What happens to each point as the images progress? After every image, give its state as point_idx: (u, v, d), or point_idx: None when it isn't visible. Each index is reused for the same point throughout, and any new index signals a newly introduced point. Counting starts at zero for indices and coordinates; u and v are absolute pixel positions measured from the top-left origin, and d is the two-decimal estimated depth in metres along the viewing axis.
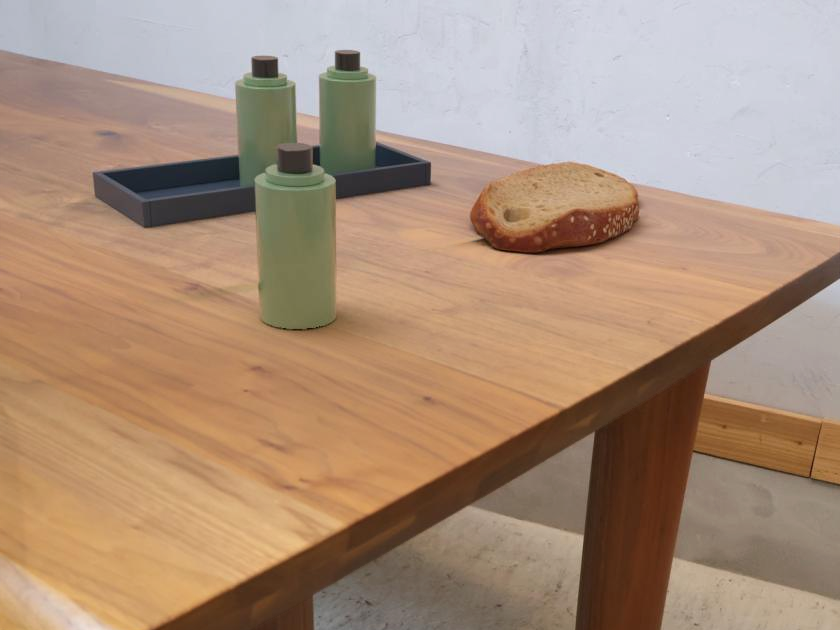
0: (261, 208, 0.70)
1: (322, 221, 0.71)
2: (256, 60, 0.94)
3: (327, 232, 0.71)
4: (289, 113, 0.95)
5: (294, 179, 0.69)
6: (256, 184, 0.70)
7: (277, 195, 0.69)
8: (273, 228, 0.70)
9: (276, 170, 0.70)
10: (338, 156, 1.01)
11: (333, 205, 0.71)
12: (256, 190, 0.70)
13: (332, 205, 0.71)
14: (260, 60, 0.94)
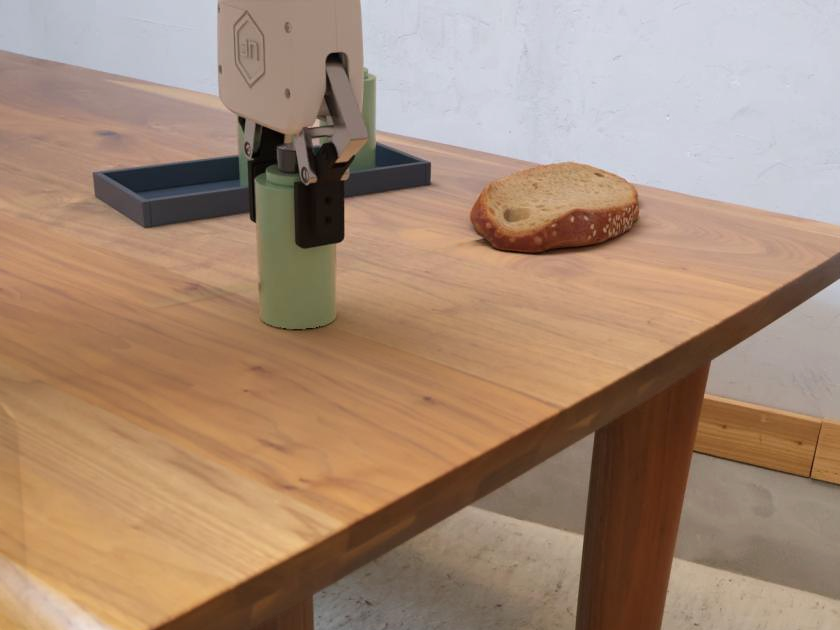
0: (261, 208, 0.70)
1: None
2: None
3: None
4: None
5: (294, 179, 0.69)
6: (256, 184, 0.70)
7: (277, 194, 0.69)
8: (273, 228, 0.70)
9: (276, 170, 0.70)
10: None
11: None
12: (256, 190, 0.70)
13: None
14: None
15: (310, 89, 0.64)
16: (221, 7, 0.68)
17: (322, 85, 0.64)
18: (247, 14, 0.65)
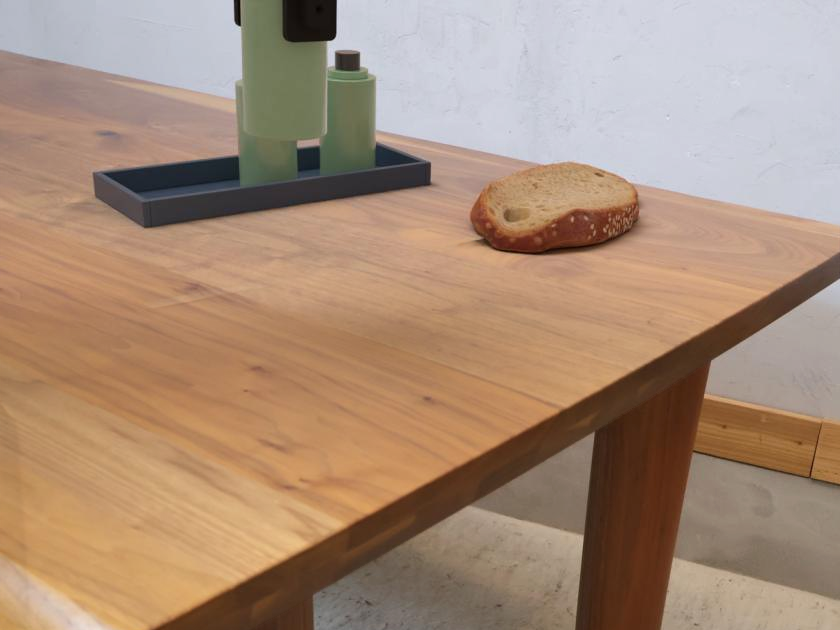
0: (246, 0, 0.65)
1: None
2: None
3: None
4: None
5: None
6: None
7: None
8: (259, 21, 0.65)
9: None
10: (338, 156, 1.01)
11: None
12: None
13: None
14: None
15: None
16: None
17: None
18: None
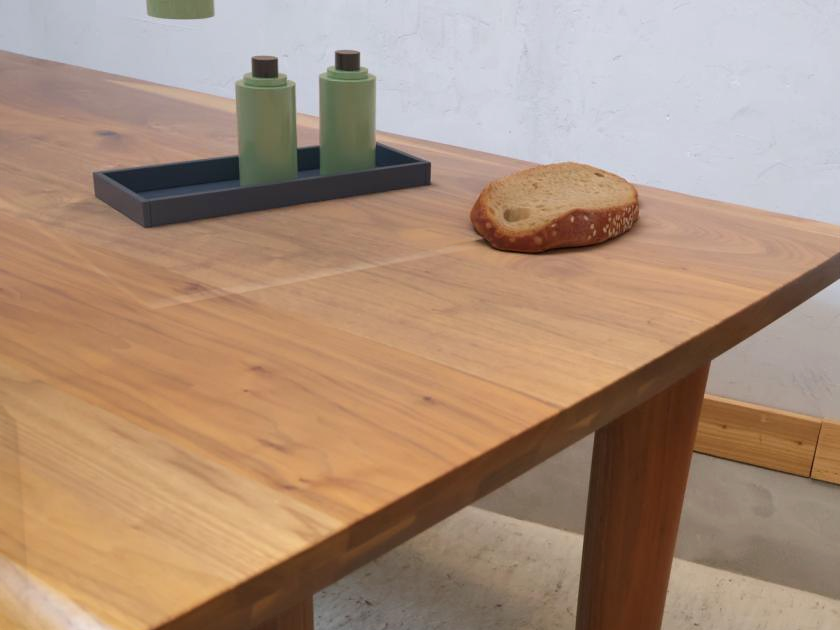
0: None
1: None
2: (256, 60, 0.94)
3: None
4: (289, 113, 0.95)
5: None
6: None
7: None
8: None
9: None
10: (338, 156, 1.01)
11: None
12: None
13: None
14: (260, 60, 0.94)
15: None
16: None
17: None
18: None
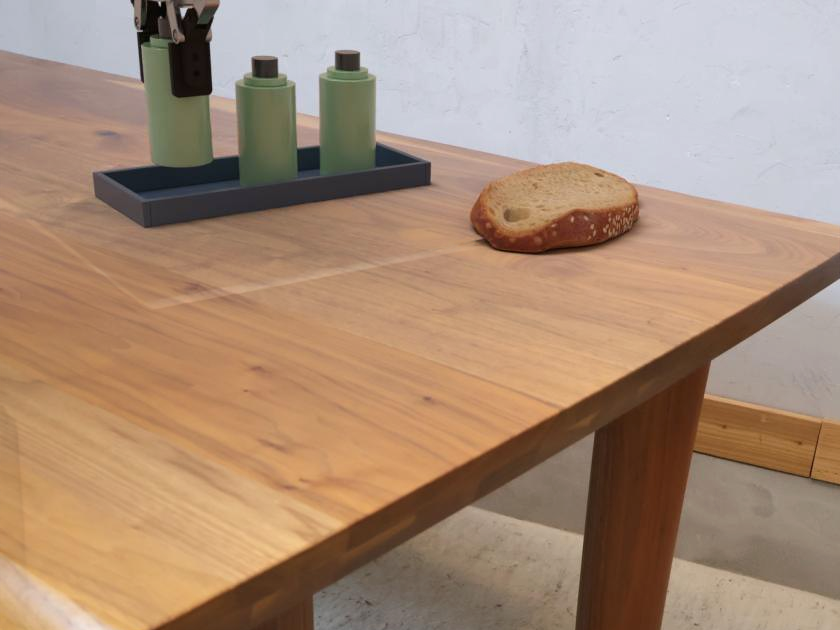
0: (146, 67, 0.89)
1: None
2: (256, 60, 0.94)
3: None
4: (289, 113, 0.95)
5: None
6: (142, 47, 0.89)
7: (157, 54, 0.88)
8: (156, 82, 0.89)
9: (158, 36, 0.89)
10: (338, 156, 1.01)
11: None
12: (142, 52, 0.89)
13: None
14: (260, 60, 0.94)
15: None
16: None
17: None
18: None
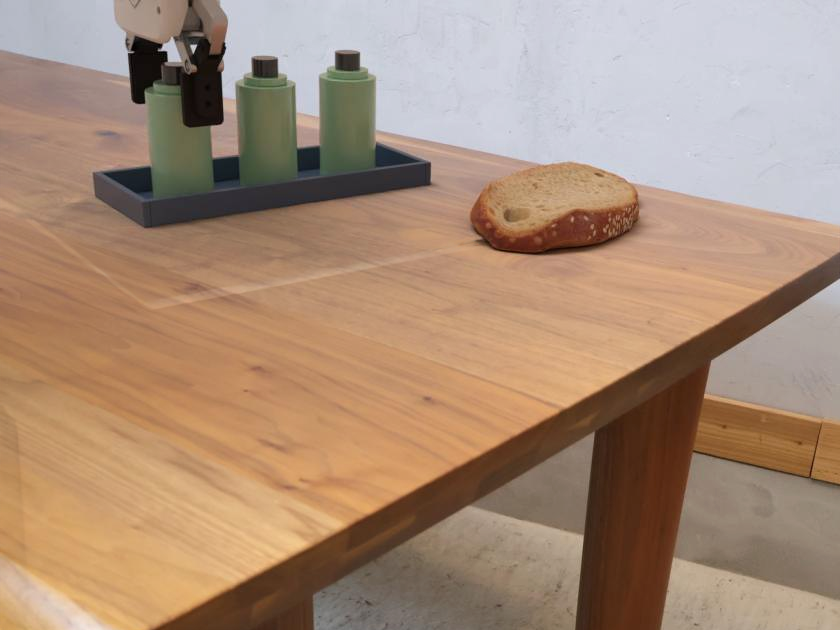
0: (149, 112, 0.90)
1: None
2: (256, 60, 0.94)
3: (202, 131, 0.91)
4: (289, 113, 0.95)
5: (173, 88, 0.90)
6: (145, 93, 0.90)
7: (160, 100, 0.89)
8: (159, 127, 0.90)
9: (161, 82, 0.91)
10: (338, 156, 1.01)
11: None
12: (145, 98, 0.90)
13: None
14: (260, 60, 0.94)
15: (175, 6, 0.83)
16: None
17: (185, 4, 0.84)
18: None
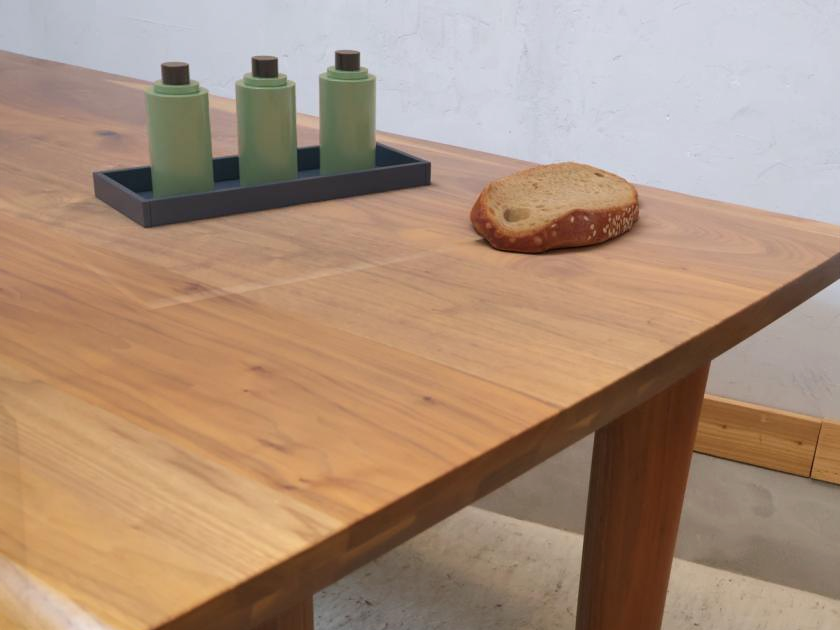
0: (149, 112, 0.90)
1: (197, 122, 0.91)
2: (256, 60, 0.94)
3: (202, 131, 0.91)
4: (289, 113, 0.95)
5: (173, 88, 0.90)
6: (145, 93, 0.90)
7: (160, 100, 0.89)
8: (159, 127, 0.90)
9: (161, 82, 0.91)
10: (338, 156, 1.01)
11: (206, 110, 0.91)
12: (145, 98, 0.90)
13: (205, 110, 0.91)
14: (260, 60, 0.94)
15: None
16: None
17: None
18: None
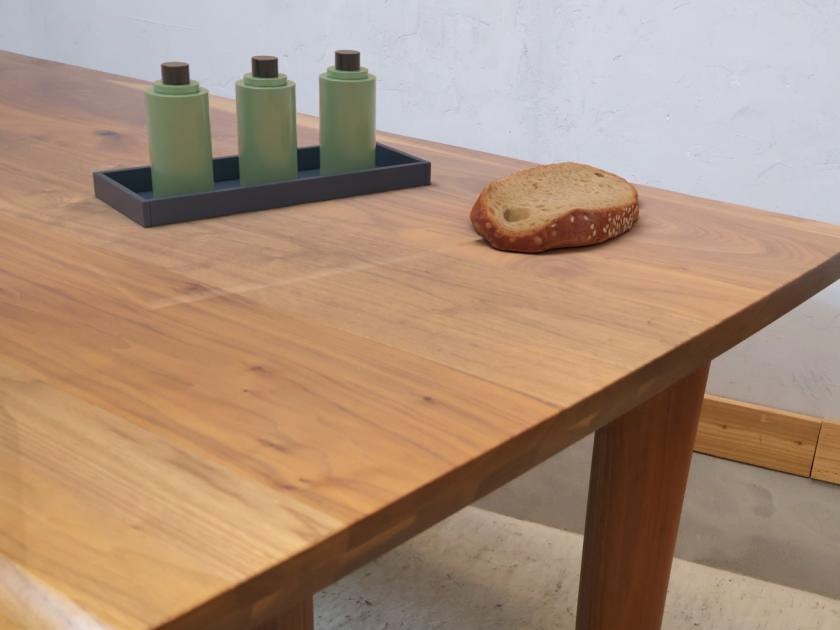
0: (149, 112, 0.90)
1: (197, 122, 0.91)
2: (256, 60, 0.94)
3: (202, 131, 0.91)
4: (289, 113, 0.95)
5: (173, 88, 0.90)
6: (145, 93, 0.90)
7: (160, 100, 0.89)
8: (159, 127, 0.90)
9: (161, 82, 0.91)
10: (338, 156, 1.01)
11: (206, 110, 0.91)
12: (145, 98, 0.90)
13: (205, 110, 0.91)
14: (260, 60, 0.94)
15: None
16: None
17: None
18: None
